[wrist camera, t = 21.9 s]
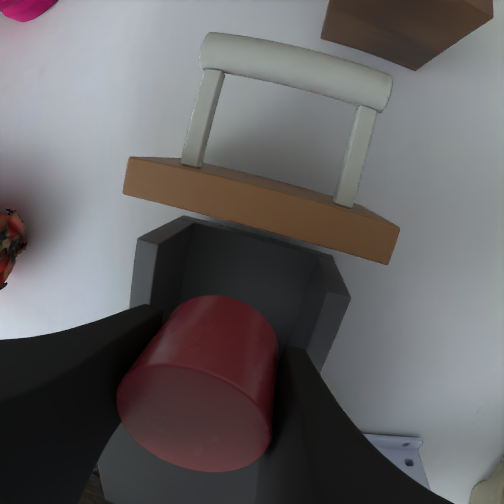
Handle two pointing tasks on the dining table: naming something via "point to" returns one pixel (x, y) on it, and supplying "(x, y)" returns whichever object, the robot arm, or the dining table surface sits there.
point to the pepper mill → (24, 8)
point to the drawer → (262, 205)
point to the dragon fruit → (10, 243)
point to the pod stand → (404, 26)
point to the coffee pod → (204, 387)
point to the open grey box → (167, 478)
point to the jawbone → (490, 488)
